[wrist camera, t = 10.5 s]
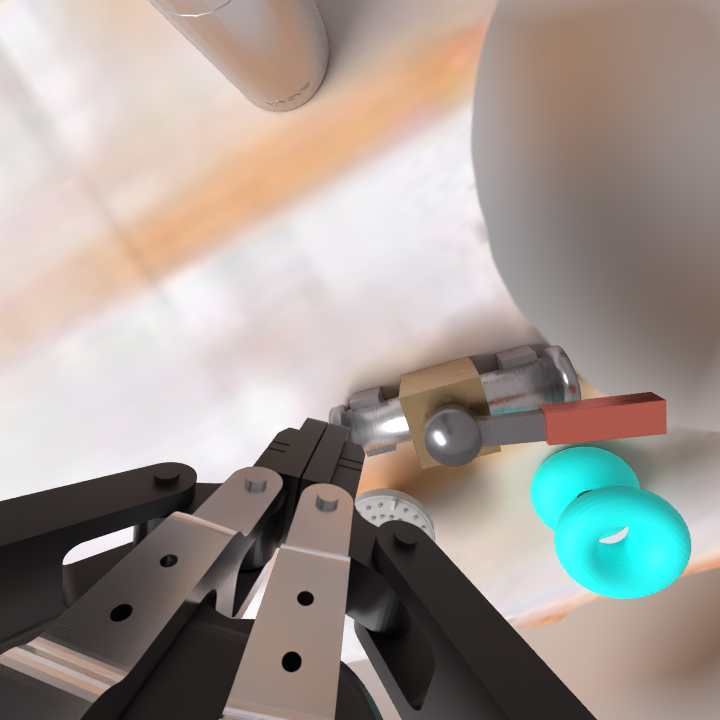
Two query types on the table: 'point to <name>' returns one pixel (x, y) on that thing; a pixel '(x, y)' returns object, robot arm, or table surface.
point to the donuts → (609, 524)
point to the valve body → (457, 398)
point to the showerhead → (393, 509)
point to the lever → (542, 425)
